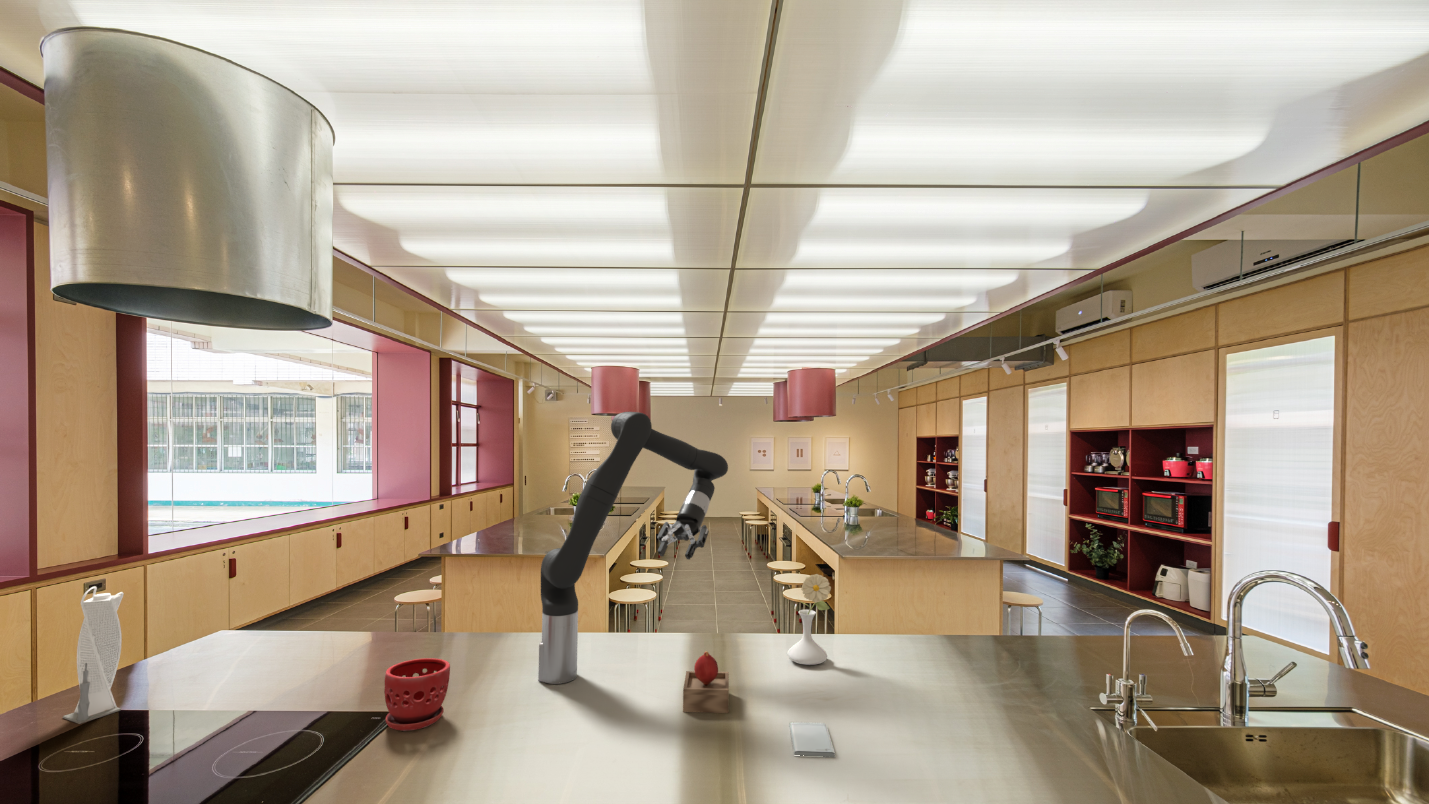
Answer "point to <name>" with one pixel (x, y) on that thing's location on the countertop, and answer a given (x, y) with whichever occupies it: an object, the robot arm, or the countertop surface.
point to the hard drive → (811, 739)
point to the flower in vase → (807, 648)
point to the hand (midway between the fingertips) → (673, 556)
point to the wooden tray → (706, 694)
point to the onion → (706, 668)
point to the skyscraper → (97, 656)
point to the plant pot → (415, 693)
